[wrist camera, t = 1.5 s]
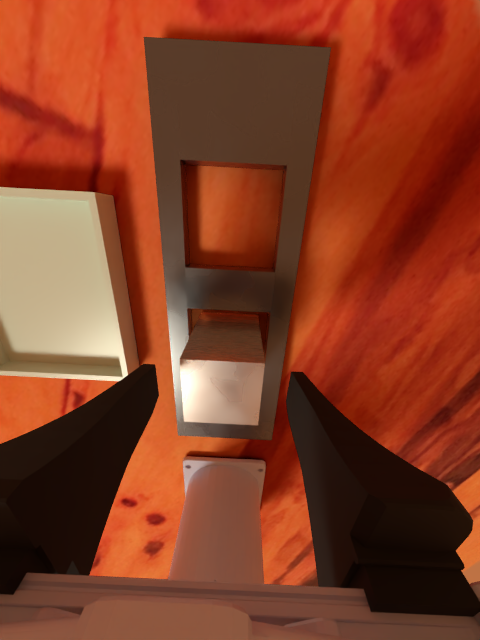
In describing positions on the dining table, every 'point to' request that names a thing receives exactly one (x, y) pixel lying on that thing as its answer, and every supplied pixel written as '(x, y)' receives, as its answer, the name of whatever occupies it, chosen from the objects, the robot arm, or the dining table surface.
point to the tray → (63, 287)
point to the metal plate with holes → (240, 152)
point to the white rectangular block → (223, 370)
